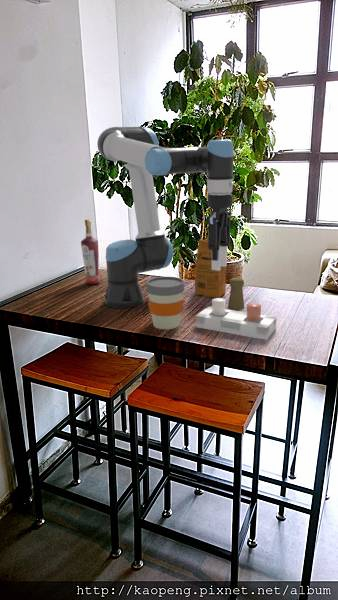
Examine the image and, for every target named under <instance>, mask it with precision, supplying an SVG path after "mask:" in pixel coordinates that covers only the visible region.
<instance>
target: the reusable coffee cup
mask: <svg viewBox="0 0 338 600" xmlns="http://www.w3.org/2000/svg"><path fill="white" fill-rule="evenodd" d="M185 288H186V287H185V282H184V280H183V278H179V277H176V276H158V277H157V276H156V277H153V278H151V279H148V280H147V282H146V292H147V295H148V296H147V302H148V303H147V305H148V310H149V313H150V315H151V318H152V323H153V327H154V328H156V329H158V330H172V329H176V328H178V327H179V326H180V324H181V315H182V312H183V309H184V308H183V307H184V301H185V300H184V299H185V297H184V292H185V290H186V289H185Z"/></svg>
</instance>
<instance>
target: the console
mask: <svg viewBox="0 0 338 600" xmlns="http://www.w3.org/2000/svg"><path fill="white" fill-rule="evenodd" d="M195 328H200V329H204V330H208V331H209V330H210V331H216V332H220V333H221V332H222V333H226V334H231V335H232V334H233V335H236V336H237V335H238V336H243V337H249V338H252V339H253V338H254V339H259V340H268V339H269V337H270V336H272V334H273V333H274V331H275V330H276V329H277V316H271V315H264V314H261V319H260V320H258V321H250V320H247V311H239V310H234V309H229V308H228V309H226V308H225V314H224V315H214V314H212V306H210V305H209V306H207V307H206V308H204V309H203V310H202V311H200V312H199V313H197V314H196V315H195Z"/></svg>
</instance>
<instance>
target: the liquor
mask: <svg viewBox="0 0 338 600" xmlns="http://www.w3.org/2000/svg"><path fill="white" fill-rule="evenodd" d="M84 226H85V237H84V238H83V239H82V240H81V241H80V246H81V253H82V260H83V267H84V274H85V281H84V282H85V283H86V284H87V285H91V286H92V285H97V284H99V282H100V281H101V278H100V266H99V265H100V263H99V261H100V260H99V259H100V258H99V239H96V238H95V237H94V236H93V231H92V220H91V219H88V218H87V219H84Z"/></svg>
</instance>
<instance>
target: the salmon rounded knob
mask: <svg viewBox="0 0 338 600" xmlns="http://www.w3.org/2000/svg"><path fill="white" fill-rule="evenodd" d="M246 312H247V320H250V321H258V320H260V319H261V315H262V314H261V313H262V305H261V304H260V303H257V302H256V303H255V302H252V303H247V305H246Z"/></svg>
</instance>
